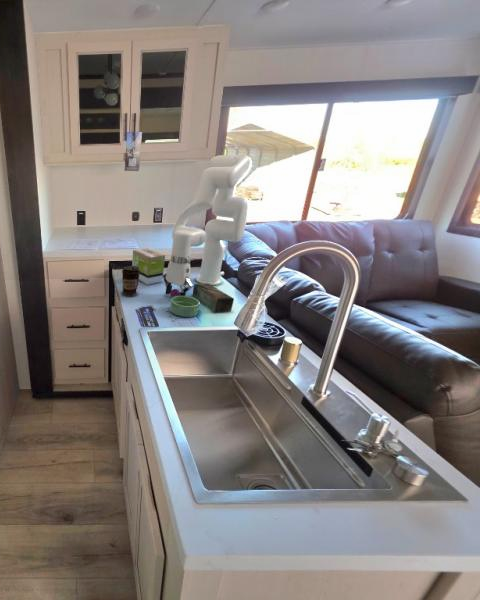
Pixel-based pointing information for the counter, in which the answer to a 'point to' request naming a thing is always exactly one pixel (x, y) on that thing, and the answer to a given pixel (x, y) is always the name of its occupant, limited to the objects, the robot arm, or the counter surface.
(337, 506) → the counter surface
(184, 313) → the bowl
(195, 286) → the brown wooden block
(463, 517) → the counter surface
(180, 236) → the robot arm
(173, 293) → the ball
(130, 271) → the coffee cup
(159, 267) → the tea box
